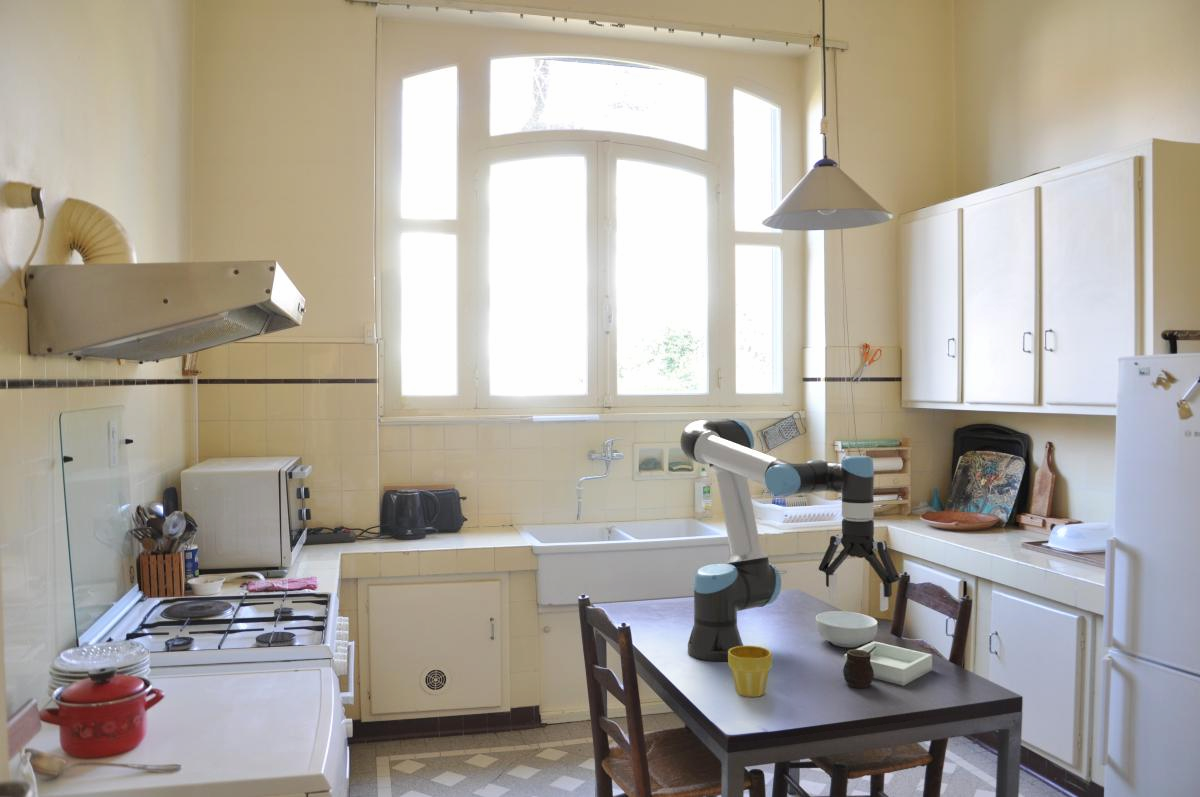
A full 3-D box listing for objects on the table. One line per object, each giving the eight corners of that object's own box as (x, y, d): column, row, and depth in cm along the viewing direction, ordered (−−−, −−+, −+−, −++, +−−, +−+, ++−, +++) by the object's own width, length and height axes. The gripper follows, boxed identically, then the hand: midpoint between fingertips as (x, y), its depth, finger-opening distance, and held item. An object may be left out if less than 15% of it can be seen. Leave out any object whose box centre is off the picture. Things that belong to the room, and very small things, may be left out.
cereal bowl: (837, 655, 231) (837, 629, 231) (804, 638, 247) (804, 613, 247) (890, 649, 237) (890, 623, 237) (854, 632, 253) (854, 608, 252)
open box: (903, 685, 208) (903, 669, 208) (843, 670, 219) (843, 654, 219) (932, 670, 219) (932, 654, 219) (873, 656, 231) (874, 641, 231)
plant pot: (718, 690, 205) (718, 650, 205) (748, 681, 211) (748, 642, 211) (751, 703, 197) (751, 661, 196) (780, 693, 203) (781, 652, 203)
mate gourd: (841, 678, 213) (841, 639, 213) (872, 681, 212) (873, 641, 212) (844, 689, 206) (845, 647, 206) (876, 691, 205) (877, 649, 204)
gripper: (913, 522, 203) (914, 611, 204) (820, 512, 221) (820, 594, 221) (899, 526, 198) (899, 617, 198) (804, 515, 216) (805, 599, 216)
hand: (858, 605), depth 210 cm, fingers open, 13 cm apart
